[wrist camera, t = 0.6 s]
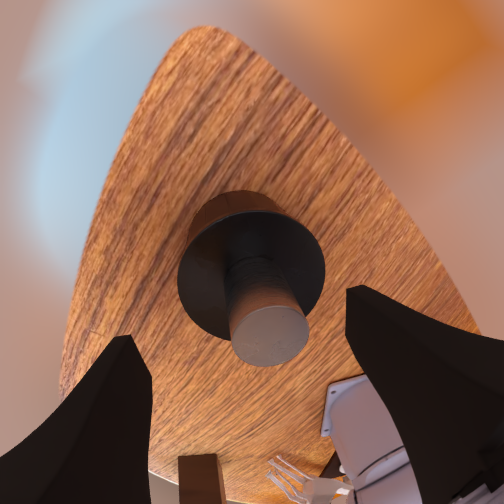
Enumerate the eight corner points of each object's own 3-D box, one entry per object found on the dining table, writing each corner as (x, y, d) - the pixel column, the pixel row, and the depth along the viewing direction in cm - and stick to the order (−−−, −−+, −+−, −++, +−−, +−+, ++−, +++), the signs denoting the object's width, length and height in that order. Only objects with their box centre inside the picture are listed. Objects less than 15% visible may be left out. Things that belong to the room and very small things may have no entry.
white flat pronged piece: (274, 426, 37) (349, 483, 36) (261, 485, 26) (352, 535, 25) (284, 420, 36) (358, 478, 36) (273, 480, 25) (363, 531, 25)
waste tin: (291, 279, 21) (314, 321, 16) (196, 292, 20) (196, 339, 16) (288, 185, 18) (316, 206, 14) (180, 197, 17) (173, 223, 13)
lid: (316, 318, 17) (350, 381, 12) (192, 337, 16) (192, 410, 12) (318, 196, 14) (371, 234, 9) (166, 214, 13) (148, 263, 9)
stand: (222, 468, 30) (231, 534, 22) (187, 471, 30) (191, 537, 21) (216, 453, 29) (225, 527, 20) (178, 456, 28) (180, 529, 19)
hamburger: (341, 441, 31) (355, 475, 27) (415, 420, 34) (431, 448, 29) (317, 478, 36) (327, 507, 31) (383, 461, 38) (395, 485, 33)
